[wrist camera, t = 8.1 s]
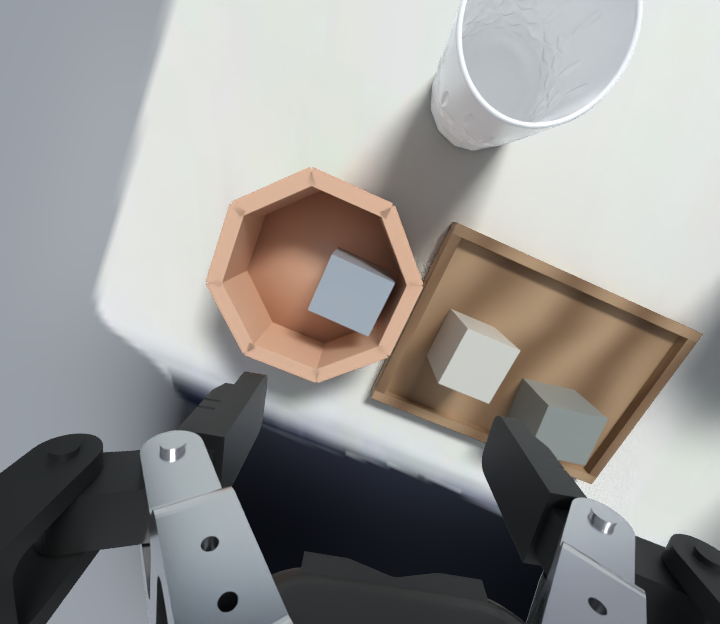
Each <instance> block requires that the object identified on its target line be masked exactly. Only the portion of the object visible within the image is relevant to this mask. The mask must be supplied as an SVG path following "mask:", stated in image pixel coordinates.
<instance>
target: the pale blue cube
mask: <svg viewBox="0 0 720 624" xmlns="http://www.w3.org/2000/svg"><path fill="white" fill-rule="evenodd" d="M394 284H395V282H394V280H393V277H392V275H391V272H390V271H389V270H387V269H385V268H383V267H381V266H379V265H377V264H374V263H372V262H370V261H368V260H366V259H364V258H362V257H359V256H357V255H355V254H353V253H351V252H349V251H347V250H344V249H342V248H340V247H337V249H336V250H335V251H334V252H333V254H332V255H331V258H330V260H329V262H328V264H327V267H326V269H325V271H324V274H323V276H322V278H321V280H320V283H319V285H318V287H317V290H316V292H315V294H314V296H313V299H312V301H311V303H310V306H309V308H308V310H309V311H311V312H314V313H316V314H318V315H320V316H323V317H325V318H327V319H330V320H332V321H334V322H336V323H339V324H341V325H343V326H345V327H348V328H350V329H352V330H354V331H357V332H359V333H361V334H363V335H366V336H369V334H370V332H371V330H372V328H373V326H374V324H375V322H376V320H377V318H378V316H379V314H380V312H381V310H382V308H383V306H384V304H385V302H386V300H387V298H388V296H389V294H390V292H391V290H392V288H393V286H394Z"/></svg>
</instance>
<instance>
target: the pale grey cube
mask: <svg viewBox="0 0 720 624" xmlns="http://www.w3.org/2000/svg"><path fill="white" fill-rule="evenodd" d="M519 353H520V350H519V349H518V348H517V347H516V346H515V345H514V344H513V343H511V342H510V341H509V340H508V339H507V338H506V337H505V336H504V335H503V334H501V333H500V332H499V331H498V330H497V329H496V328H495V327H492V326H490V325H488V324H485V323H483V322H481V321H478V320H476V319H474V318H471V317H469V316H467V315H464V314H462V313H460V312H457V311H455V310H453V309H450V311H449V313H448V315H447V317H446V319H445V320H444V322H443V324H442V326H441V328H440V330H439V332H438V334H437V336H436V338H435V340H434V342H433V344H432V346H431V348H430V349H429V351H428V353H427V358H428V360H429V363H430V365H431V367H432V370H433V372H434V374H435V377H436V379H437V382H438V383H439V384H441V385H444V386H446V387H449V388H451V389H454V390H456V391H458V392H461V393H463V394H466V395H468V396H471V397H473V398H476V399H478V400H481V401H483V402H486V403H488V404H489V403H490V401H491V400H492V398H493V396H494V395H495V393H496V391H497V389H498V388H499V386H500V384H501V383H502V381H503V379H504V378H505V376H506V374H507V373H508V371H509V369H510V368H511V366H512V364H513V363H514V361H515V359H516V358H517V356H518V354H519Z"/></svg>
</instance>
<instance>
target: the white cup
mask: <svg viewBox="0 0 720 624" xmlns="http://www.w3.org/2000/svg"><path fill="white" fill-rule="evenodd" d="M642 11H643V0H461V2H460V5H459V7H458V10H457V13H456V16H455V18H454V21H453V24H452V26H451V29H450V32H449V34H448V37H447V40H446V42H445V45H444V48H443V52H442V55H441V58H440V61H439V64H438V68H437V72H436V76H435V79H434V81H433V84H432V96H431V112H432V114H433V117H434V120H435V123H436V126H437V128H438V131H439V132H440V133H441V134H442V135H443V136H444V137H445V138H446V139H448V140H449V141H450V142H451V143H452V144H453V145H454V146H458V147H461V148H465V149H469V150H472V151H475V150H480V149H484V148H489V147H493V146H500V145H503V144H506V143H510V142H513V141H516V140H520V139H523V138H525V137H528V136H531V135H534V134H536V133H539V132H542V131H544V130H547V129H550V128H553V127H556V126H558V125H561V124H564V123H567V122H569V121H571V120H574V119H576V118H577V117H579V116H581V115H583V114H584V113H586V112H587V111H589V110H590V109H591V108H593V107H594V106H595V105H596V104H598V103H599V102H600V101H601V100H602V99H603V98H604V97H605V96H606V95H607V94H608V93H609V92H610V90H611V89H612V88H613V87H614V85H615V84H616V83H617V81H618V80H619V78H620V77H621V75H622V74H623V72H624V70H625V69H626V67H627V65H628V63H629V61H630V59H631V57H632V54H633V52H634V49H635V46H636V43H637V40H638V36H639V32H640V27H641V21H642Z"/></svg>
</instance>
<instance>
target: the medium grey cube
mask: <svg viewBox="0 0 720 624" xmlns="http://www.w3.org/2000/svg"><path fill="white" fill-rule="evenodd" d="M508 417H509V418H515V419H520V420H521V421H522V422H523V423H524V425H525V426H526V427H527V429H528V430H529V431H530V433H531V434H532V435H533V436H535V437H536V438H537V439H539V440H540V441H541V442H542V443H544V444H545V445H546V446H547V447H548V448H549V449H550V450H551V451H552V453H553V454H554V455H555V457H556V458H557V460H561V461H566V462H571V463H575V464H580V465H586V463H587V461H588V459H589V457H590V455H591V453H592V451H593V449H594V447H595V445H596V443H597V441H598V439H599V437H600V435H601V433H602V431H603V428H604V426H605V424H606V422H607V420H608V418H607V417H606V416H604V415H603V414H602V413H601V412H600V411H599V410H597V409H596V408H595V407H594V406H593V405H592V404H590V403H589V402H588V401H587V400H586V399H585V398H583V397H582V396H581V395H580V394H579V393H578V392H576V391H575V390H574V389H569V388H565V387H560V386H556V385H551V384H547V383H542V382H538V381H533V380H529V379H524V378H523V379H522V381H521V384H520V386H519V389H518V391H517V394H516V397H515V399H514V402H513V404H512V407H511V409H510V412H509V414H508Z"/></svg>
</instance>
